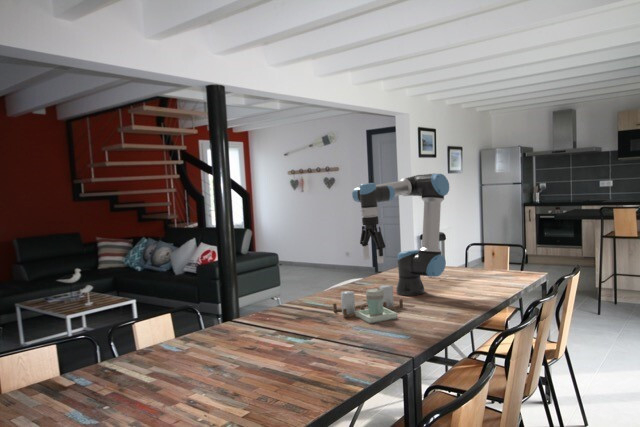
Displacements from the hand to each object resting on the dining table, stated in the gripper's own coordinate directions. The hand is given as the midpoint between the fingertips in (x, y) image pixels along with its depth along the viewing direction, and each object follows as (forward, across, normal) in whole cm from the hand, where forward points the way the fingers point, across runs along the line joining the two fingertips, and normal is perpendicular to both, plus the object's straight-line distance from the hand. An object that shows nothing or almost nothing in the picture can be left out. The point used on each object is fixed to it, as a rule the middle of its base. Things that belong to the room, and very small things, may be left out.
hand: (373, 261), depth 225 cm
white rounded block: (+25, -8, +10) cm, 28 cm away
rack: (+25, -8, -1) cm, 26 cm away
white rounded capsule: (+25, -8, -11) cm, 28 cm away
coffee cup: (+24, +6, -4) cm, 25 cm away
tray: (+25, +6, -4) cm, 26 cm away
